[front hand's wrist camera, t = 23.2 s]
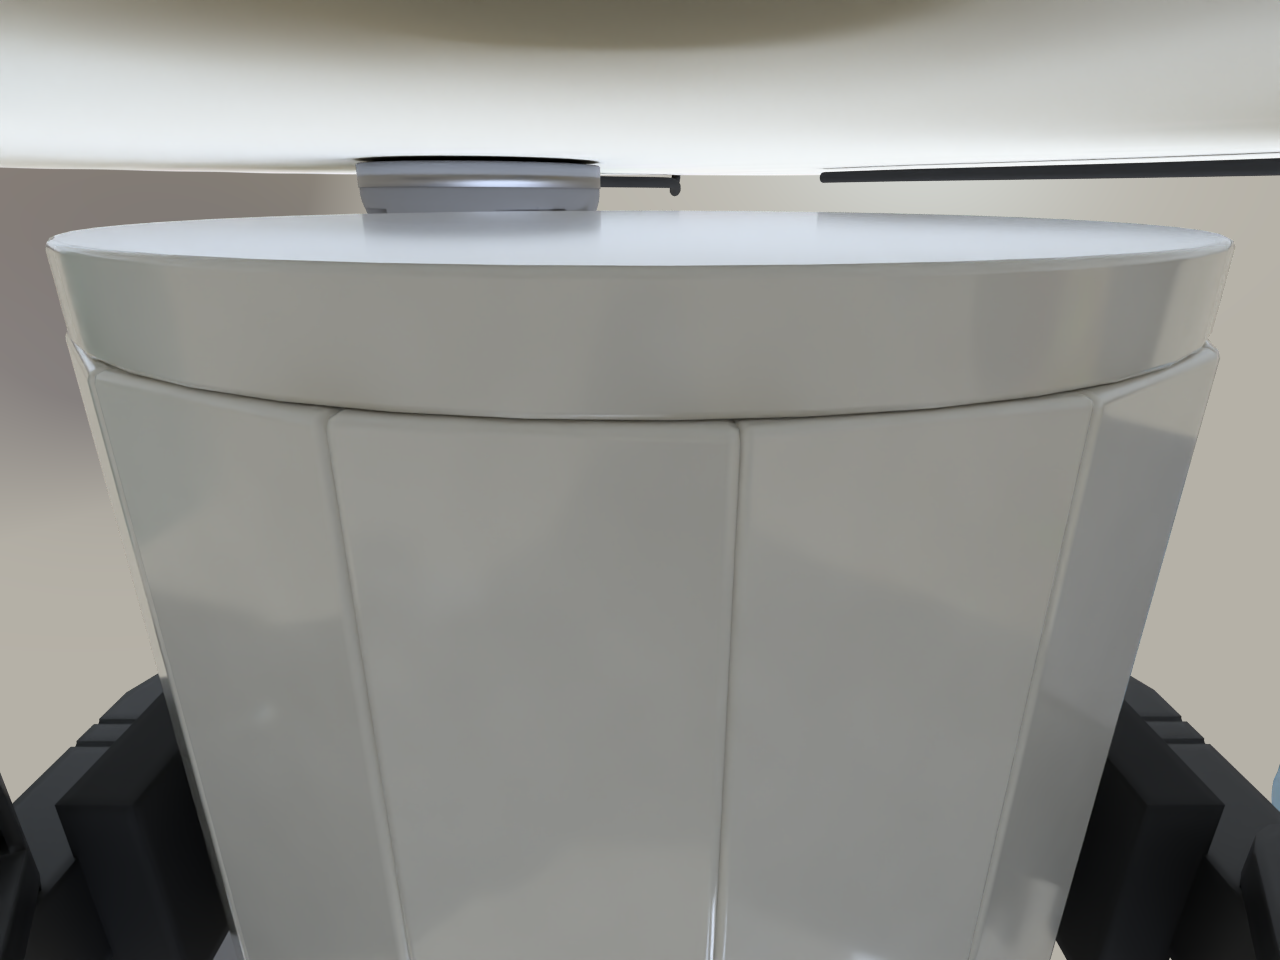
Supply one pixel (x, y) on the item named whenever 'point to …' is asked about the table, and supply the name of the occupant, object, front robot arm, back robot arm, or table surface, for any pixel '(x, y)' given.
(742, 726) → the grey paneled bucket
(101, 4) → the table surface
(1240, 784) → the front robot arm
